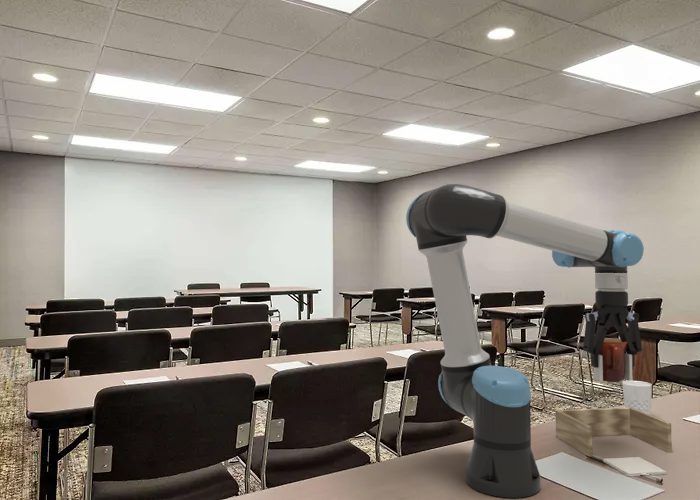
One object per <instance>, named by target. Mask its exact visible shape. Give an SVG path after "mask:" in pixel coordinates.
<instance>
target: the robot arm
mask: <svg viewBox="0 0 700 500" xmlns="http://www.w3.org/2000/svg"><path fill="white" fill-rule="evenodd" d="M406 211H407V212H406V215H405V216H406V217H405V219H406V220H405V221H406V226H407V229H408V231H409V233H410V234H411V235H412V236H414V238H416V243H417V248H418V251H419V253H422V254H423V256H425V257H426V261H427V266H428V267H427V268H428V271H429V277H430V281H431V287H432V293H433V297H434V302H435V303H434V304H435V309H436V312H437V318H438V323H439V328H440V329H439V330H440V333H441V339H442V343H443V349H444V356H443V357H442V358H441V360H440V368H441V373H440V374H439V376H438V381H437V385H438V391H439V394H440V396H441V399H442V400H443V401H444V402H445V403H446V404H447V405H448V406H449V407H450V408H451V409H452V410H453V411H456V413H459V414H462V415H463V416H466V417H467V418H469V419H471V420H473V426H472V427H473V444H472V448H471V451H470V454H469V457H468V461H467V463H466V467H465V482H466V483H467V485H468V486H469V487H471V488H472V489H474V490H476V491H477V492H480V493H483V494H486V495H489V496H494V497H500V498H510V499H511V498H512V499H514V498H525V497H526V498H527V497H531V496H533V495H536V494H537V493H538V492H540V490H541V485H542V484H541V475H540V470H539V468H538V465H537V462H536V460H535V459H536V458H535V456H534V453H533V451H532V450H533V449H532V443H531V442H532V439H531V438H532V436H531V435H532V434H531V433H532V432H531V430H532V428H531V427H532V426H531V425H532V423H531V399H532V393H531V386H530V380H529V378H528V377H527V376H526V375H525V374H524V373H523V372H522V371H519V370H517V369H514V368H511V367H505V366H499V365H492V361H491V357H490V354H489V353H488V352H486V351H485V350H484V349H483V348H482V345H481V340H480V335H479V330H478V325H477V324H478V323H477V320H476V319H477V318H476V315H475V314H476V313H475V309H474V304H473V299H472V293H471V287H470V283H469V282H470V281H469V276H468V272H467V267H466V262H465V258H464V257H465V256H464V252H463V250H464V247H465V246H466V244H467V243H468V238H467V236H473V237H475V236H476V237H483V238H486V239H493V238H496V236H497V237H500V238H504V239H509V240H511V241H512V240H513V241H515V242H519V243H523V244H527V245H530V246H535V247H539V248H542V249H545V250H546V249H547V250H550V251H551V256H552V257H551V258H552V260H553V262H554V264H556V265H557V267H562V268H570V269H571V268H594V288H595V289H596V290H597V291H595V294H594V295H595V305H596V309H595V310H594V311H593V312H590V313H589V312H586V313H585V314H584V320H585V328H584V329H585V330H584V336H583V337H584V338H583V346H582V350H583V351H584V352H585V353H589V354H590V366H591V367H592V368H593V367H594V371H593V381H598V382H604V381H603V357H602V355H599V353H600V350H601V347H602V345H603V342H604V339H605V338H606V336H607V333H608V331H610V328H613V327H614V329H615V330H617V333H618V336H619V339H621V342H626V341H628V343H627V346H626V349H625V377H624V380H625V381H634V380H633V367H635V362H636V361H635V356H637V355H638V352H640V353H641V352H642V351H643V348H642V347H643V346H642V341H641V334H640V333H641V332H640V327H639V321H640V320H639V319H640V313H637V312H629V310H628V305H629V293H628V291H626V290H627V289H628V284H629V283H628V277H629V276H628V267H633V266H635V265H637V264H638V263H640V262H641V260H642V259H643V256H644V249H645V247H644V243H643V241H642V239H641V238H640V237H639V236H638V235H637V234H635V233H631V232H625V231H624V230H620V229H613V230H611V229H608V230H604V229H601V228H597V227H593V226H590V225H587V224H582V223H579V222H576V221H573V220H569V219H566V218H562V217H560V216H557V215H552V214H548V213H546V212H542V211H538V210H535V209H531V208H528V207H526V206H521V205H518V204H514V203H511V202H508V201H507V199H506V197H505V196H503V195H501V194H498V193H495V192H491V191H487V190H483V189H481V188H477V187H473V186H471V185H466V184H459V183H449V184H445V185H442V186H438V187H437V188H434V189H430V190H427V191H424V192H422V193H421V194H419V195H418V196H417V197H415V198H414V199H413V200H412V201H411V203H410V204H409V206H408V208H407V210H406ZM626 320H627V322H626ZM596 321H598V322H596ZM596 324H597V325H596ZM596 328H597V329H596Z"/></svg>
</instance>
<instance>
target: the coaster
mask: <svg viewBox="0 0 700 500" xmlns="http://www.w3.org/2000/svg"><path fill="white" fill-rule="evenodd" d="M602 461H603V463H605V464H607V465H608V466H610V467H612V468H614V469H616V470H617V471H618V472H620V473H622V474H623V475H625V476H627V477H641V476H640V475H641V473H640V472H642V473H646V474H651V475H650V476H661V475H667V473H668V472H667V471H666V470H664V469H663V468H661V467H658V466H657V465H655V464H653V463H651V462H649V461H647V460H645V459H643V458H641V457H639V456H634V457H633V456H632V457H631V456H629V457H615V458H614V457H613V458H612V457H611V458H603V459H602Z"/></svg>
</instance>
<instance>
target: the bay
mask: <svg viewBox="0 0 700 500" xmlns="http://www.w3.org/2000/svg"><path fill="white" fill-rule="evenodd" d="M624 435H625V436H627V435H631V436H633V437H635V438H637V439H639V440H642V441H644V442H645V443H648V444H650V445H653V446H655V447H656V448H659V449H660V450H663V451H665V452H667V453H673V443H672V441H673V440H672V422H669V421H666V420H664V419H661V418H659V417H657V416H653V415H652V414H651V415H649V414H646V413H644V412H641V411H639V410H636V409H634V408H631V407H628V408H625V407H610V408H585V409H584V408H583V409H582V408H581V409H560V410H559V409H558V410H557V409H556V410H555V437H556V438H558V439H559V440H561V441H562V442H564V443H565V444H567V445H569V446H571V448H574V449H576V451H579V452H581V453H582V454H584V455H585V456H587V457H593V437H604V436H607V437H609V436H624Z"/></svg>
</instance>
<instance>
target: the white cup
mask: <svg viewBox="0 0 700 500" xmlns="http://www.w3.org/2000/svg"><path fill="white" fill-rule="evenodd" d="M621 382H622V391H623V404H624V408H628V407H631V408H634V409H636V410H639V411H641V412H644V413H646V414H649V415H652V414H651V412H652V411H651V409H652V394H653V393H652V392H653V390H652V388H653V386H652V385H653V384H652V383H650V382H646V381H641V380H633V381H629V380H623V381H621Z"/></svg>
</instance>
